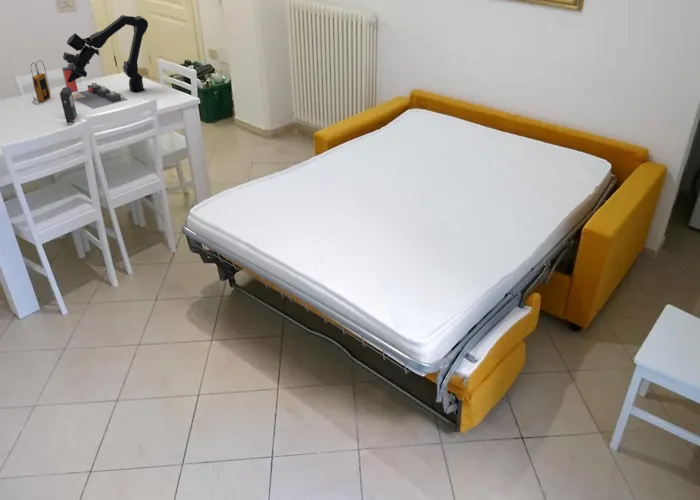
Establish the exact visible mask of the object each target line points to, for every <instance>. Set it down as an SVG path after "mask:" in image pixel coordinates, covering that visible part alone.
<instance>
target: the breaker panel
mask: <svg viewBox="0 0 700 500" xmlns="http://www.w3.org/2000/svg"><path fill="white" fill-rule="evenodd" d="M72 96H73V100H74V101H76V102H78V103H81V104H82V105H84V106H86V107H89V108H91V109H92V110H93V109H98V108H102V107H105V106H110V105H115V104H117V103H120V102H121V103H122V102H124V101H129V99H127V98H125V97H124V96H123V95H121V94H120V93H118V92H116V90H114V89H108V88H107V87H106V86H105V85H100V84H98V83H97V82H96V81H91V84H90V85H89V84H88V85H87V90H83V91H78V92H72Z"/></svg>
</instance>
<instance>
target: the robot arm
mask: <svg viewBox="0 0 700 500" xmlns="http://www.w3.org/2000/svg"><path fill="white" fill-rule="evenodd" d="M126 25H128V26H132V27H133V35H132V41H131V47H130V50H129V55H128V59H127V60H124V61H123V66H122V69H123V73H124V75H126V76H127V77H128V78H129V79H128V85H129V91H130V92H133V93H140V92H143V91H146V88H144V83H143V76H142V75H141V74H140V73H139V72H138V71H139V67H138V59H139V55H140V52H141V51H140V50H141V47H142V40H143V37H144V35H145V33H146V32H147V30H148V27H149V22H148V20H147V19H145V18H144V17H143V16H141V15H136V16H131V15H125V14H122V15H120V16H119V17H118V18H117V19H116V20H114V21H112V23H110V24H109V25H108V26H106V27H105V28H103V30H100V31H96V32H95V33H93V34H91V35H90V36H88V37H84V38H82V37H80V35H78V34H77V33H75V32H74V33H73V34H72V35H71V36H69V38H67V41H66V44H67V45H68V46H70V47H71V48H73V49H74V50H75V51H77V52H79V51H80V52H79V53H76V54H73V53H69V52H65V51H64V52H63V56H62V59H63V60H64V61H65V62H66V63H67V67H70V66H71V67H72V68H73V69H72V68H71V70H72V73H71V75H70V77H69V79H68V82H69V83H70V82H72V81H74V80H76V81H77V80H78V79H80V78H82V77H83V78H87V76H88V73H87V71H86V66H87V65H90V63H91V62H90V60H92V58H93V56H95V55H97V56H100V51H99V49H101V48H103V46H105V44H106V43H107V41H108V39H109V38H110V37H112V36H113V35H114V34H116V33H117V32H118V31H120V30H121V29H122V28H123V27H125V26H126Z"/></svg>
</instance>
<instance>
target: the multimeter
mask: <svg viewBox="0 0 700 500" xmlns="http://www.w3.org/2000/svg"><path fill="white" fill-rule="evenodd" d="M40 61H41V63H42V65H43V68H44V72H45V73H42V72H40V71H39V69H38V63H39V62H40ZM33 64H34V66H35V71H36V74H35V75H34V73H33V71H32V69H30V71H31V75H32V77H31V78H32V82H33V88H34V90H35V91H34V92H35V95H36V96H31V97H32V98H33V99H35V100H33V102H32V104H33V105H36V103H35V101H37V102H45V101H47V100H48V99H51V90H50V85H49V80H48V76H47V72H46V67H45V64H44V62H43V61H42V60H41V59H39V60H38V61H37V62H36V63H35V62H32V63H31V64H30V66H32V65H33Z"/></svg>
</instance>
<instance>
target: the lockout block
mask: <svg viewBox="0 0 700 500" xmlns="http://www.w3.org/2000/svg"><path fill="white" fill-rule="evenodd" d="M71 68H72V67H71V66H70V67H68V66H65V67H64V66H63V67H61V71H62V74H63V79H64V84H65V87H69V88H71V92H72V93H77V92H79V90H78V86H77V82H76V81H77V79H76V80H74V81H72V82H70V83H69V82H68V79H69V77H70V75H71V73H72V70H71ZM72 69H73V68H72Z"/></svg>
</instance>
